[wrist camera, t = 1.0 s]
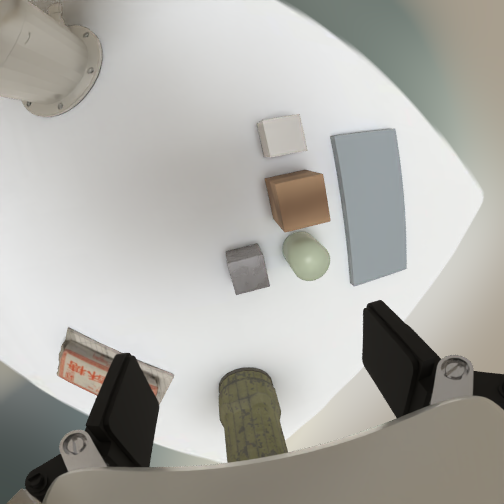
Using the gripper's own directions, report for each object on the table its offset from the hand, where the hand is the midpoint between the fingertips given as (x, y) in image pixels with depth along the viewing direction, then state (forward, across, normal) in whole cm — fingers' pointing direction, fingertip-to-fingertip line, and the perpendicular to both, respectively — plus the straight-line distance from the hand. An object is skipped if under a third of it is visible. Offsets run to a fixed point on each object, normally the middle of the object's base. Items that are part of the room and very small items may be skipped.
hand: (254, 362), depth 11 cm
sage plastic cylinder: (+26, -8, +5) cm, 27 cm away
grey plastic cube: (+25, -7, -9) cm, 28 cm away
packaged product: (+26, +24, +19) cm, 40 cm away
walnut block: (+25, -7, -2) cm, 27 cm away
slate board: (+26, -18, +2) cm, 32 cm away
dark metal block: (+26, -1, +5) cm, 26 cm away
